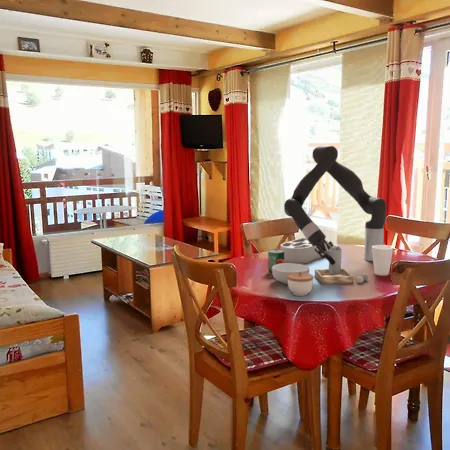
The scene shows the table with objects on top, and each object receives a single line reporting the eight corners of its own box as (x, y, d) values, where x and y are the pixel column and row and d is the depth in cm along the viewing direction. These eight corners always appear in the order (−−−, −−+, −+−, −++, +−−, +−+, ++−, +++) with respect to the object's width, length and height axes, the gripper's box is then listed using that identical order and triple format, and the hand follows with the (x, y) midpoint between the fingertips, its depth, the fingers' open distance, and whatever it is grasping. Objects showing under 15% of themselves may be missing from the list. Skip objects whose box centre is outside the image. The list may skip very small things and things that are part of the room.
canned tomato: (283, 275, 225) (283, 252, 224) (267, 274, 227) (267, 252, 225) (285, 270, 233) (285, 249, 231) (269, 270, 235) (269, 248, 233)
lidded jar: (284, 290, 201) (284, 269, 200) (309, 289, 202) (309, 268, 201) (290, 298, 191) (290, 275, 189) (316, 296, 192) (316, 274, 190)
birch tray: (344, 274, 223) (344, 268, 223) (353, 283, 209) (353, 276, 209) (314, 275, 223) (314, 269, 222) (321, 284, 209) (321, 277, 208)
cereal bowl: (300, 289, 202) (300, 273, 201) (265, 284, 211) (265, 269, 210) (315, 280, 216) (315, 265, 215) (282, 275, 225) (281, 261, 224)
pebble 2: (366, 279, 214) (366, 273, 214) (368, 281, 211) (369, 274, 210) (359, 280, 214) (359, 273, 213) (361, 282, 211) (362, 275, 210)
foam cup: (392, 271, 226) (393, 245, 224) (392, 276, 218) (393, 249, 216) (371, 270, 230) (372, 244, 227) (370, 275, 221) (371, 248, 219)
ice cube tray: (327, 255, 264) (327, 240, 262) (301, 266, 243) (301, 249, 241) (301, 252, 275) (301, 237, 273) (274, 261, 254) (274, 246, 252)
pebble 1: (362, 281, 211) (362, 275, 211) (364, 283, 208) (364, 276, 207) (355, 282, 211) (355, 275, 210) (357, 284, 208) (357, 277, 207)
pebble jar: (339, 270, 218) (340, 244, 215) (341, 274, 212) (343, 247, 210) (327, 270, 218) (328, 244, 215) (329, 274, 212) (330, 247, 210)
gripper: (311, 231, 211) (335, 260, 206) (325, 226, 222) (349, 254, 217) (300, 241, 215) (324, 270, 210) (315, 236, 227) (338, 264, 221)
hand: (336, 262), depth 214 cm, fingers closed on pebble jar, 5 cm apart
